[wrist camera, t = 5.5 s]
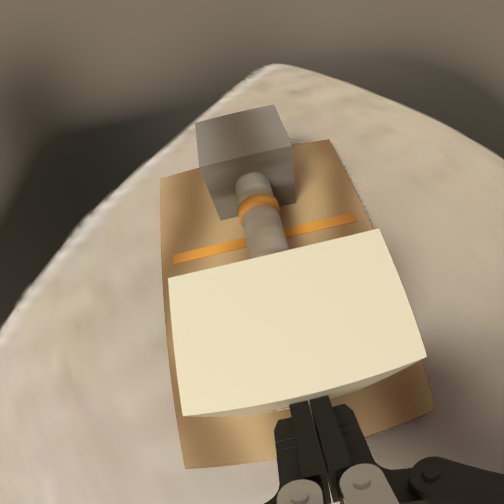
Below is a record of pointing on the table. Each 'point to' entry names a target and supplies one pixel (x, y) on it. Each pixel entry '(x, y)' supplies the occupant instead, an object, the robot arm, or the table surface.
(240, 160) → the pipe stand
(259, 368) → the sleeve
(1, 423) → the table surface
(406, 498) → the robot arm
